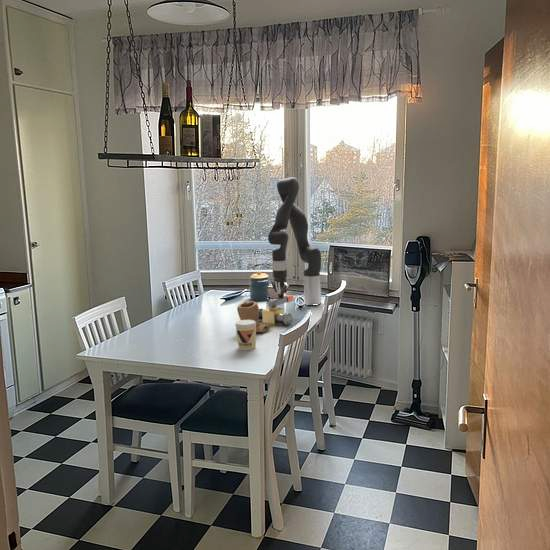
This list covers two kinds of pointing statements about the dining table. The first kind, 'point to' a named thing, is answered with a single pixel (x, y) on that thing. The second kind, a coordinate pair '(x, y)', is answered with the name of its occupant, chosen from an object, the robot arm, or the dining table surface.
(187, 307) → the dining table surface
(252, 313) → the stone cup
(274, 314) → the valve pipe
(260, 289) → the canister
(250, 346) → the coffee cup
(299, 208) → the robot arm
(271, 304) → the lever
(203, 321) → the dining table surface
